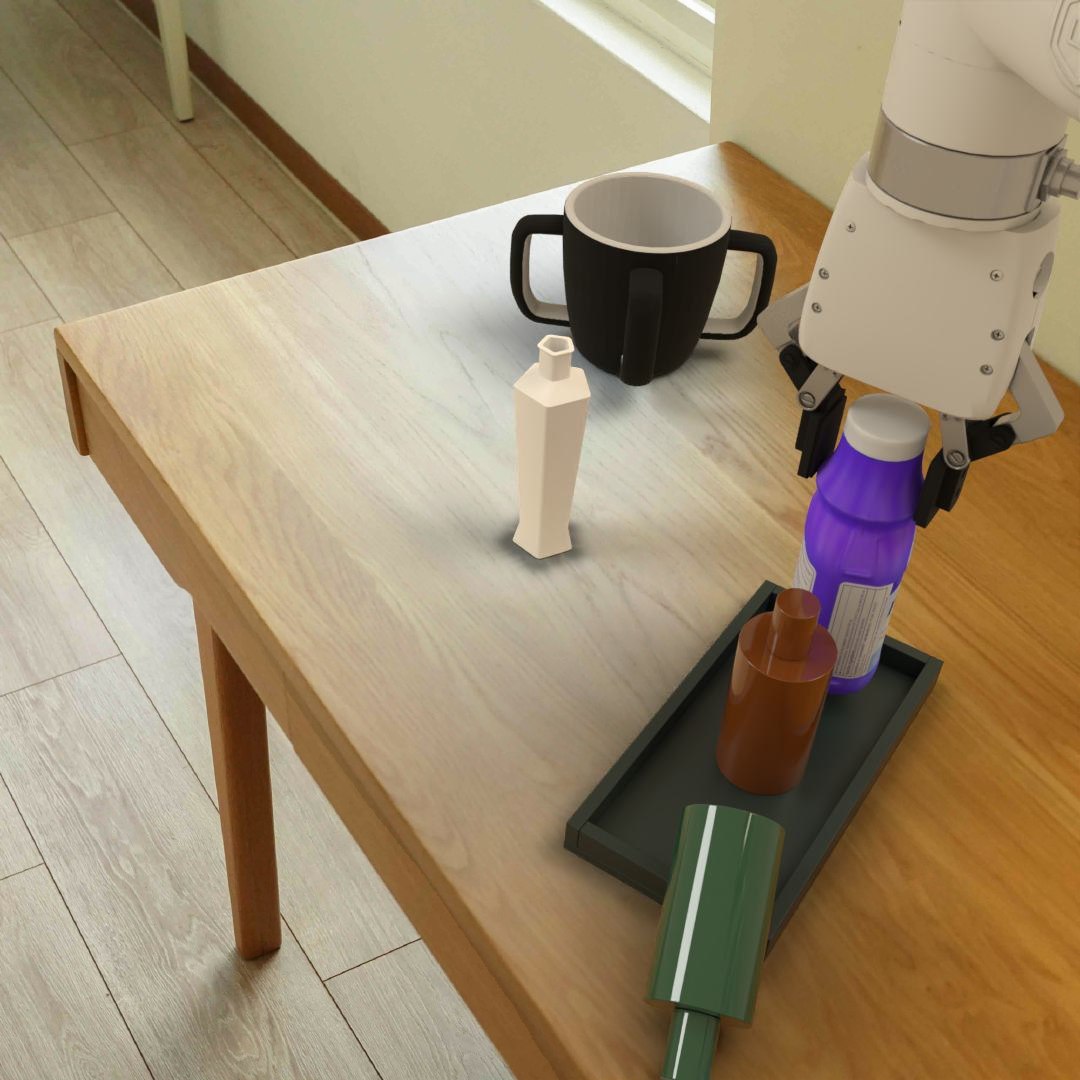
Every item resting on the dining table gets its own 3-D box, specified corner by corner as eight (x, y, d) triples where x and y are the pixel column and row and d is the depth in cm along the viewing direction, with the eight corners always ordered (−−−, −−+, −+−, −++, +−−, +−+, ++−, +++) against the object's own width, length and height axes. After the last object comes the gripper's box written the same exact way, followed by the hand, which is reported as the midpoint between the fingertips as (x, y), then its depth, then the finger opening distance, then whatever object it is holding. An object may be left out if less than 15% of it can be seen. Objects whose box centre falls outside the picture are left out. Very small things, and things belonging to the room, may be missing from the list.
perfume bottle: (502, 557, 86) (510, 362, 76) (514, 513, 90) (523, 321, 80) (572, 567, 86) (590, 372, 76) (582, 523, 89) (600, 331, 79)
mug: (779, 370, 104) (807, 230, 96) (612, 434, 97) (628, 289, 89) (649, 274, 114) (665, 140, 106) (489, 326, 106) (493, 186, 99)
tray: (935, 685, 80) (944, 661, 78) (763, 964, 65) (770, 940, 64) (760, 603, 84) (766, 578, 83) (563, 847, 70) (565, 822, 68)
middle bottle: (820, 751, 75) (866, 595, 67) (781, 810, 72) (823, 654, 64) (740, 711, 77) (775, 555, 69) (698, 767, 74) (730, 610, 66)
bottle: (873, 714, 75) (951, 467, 63) (771, 696, 75) (829, 448, 64) (875, 624, 80) (947, 381, 68) (779, 607, 81) (835, 364, 69)
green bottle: (807, 838, 64) (763, 1104, 59) (728, 837, 68) (680, 1088, 63) (739, 802, 61) (687, 1078, 56) (661, 804, 65) (605, 1063, 60)
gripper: (1188, 187, 56) (1057, 516, 68) (814, 78, 63) (755, 395, 75) (1139, 258, 52) (1008, 598, 63) (740, 132, 58) (689, 461, 70)
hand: (871, 485), depth 69 cm, fingers closed on bottle, 5 cm apart
